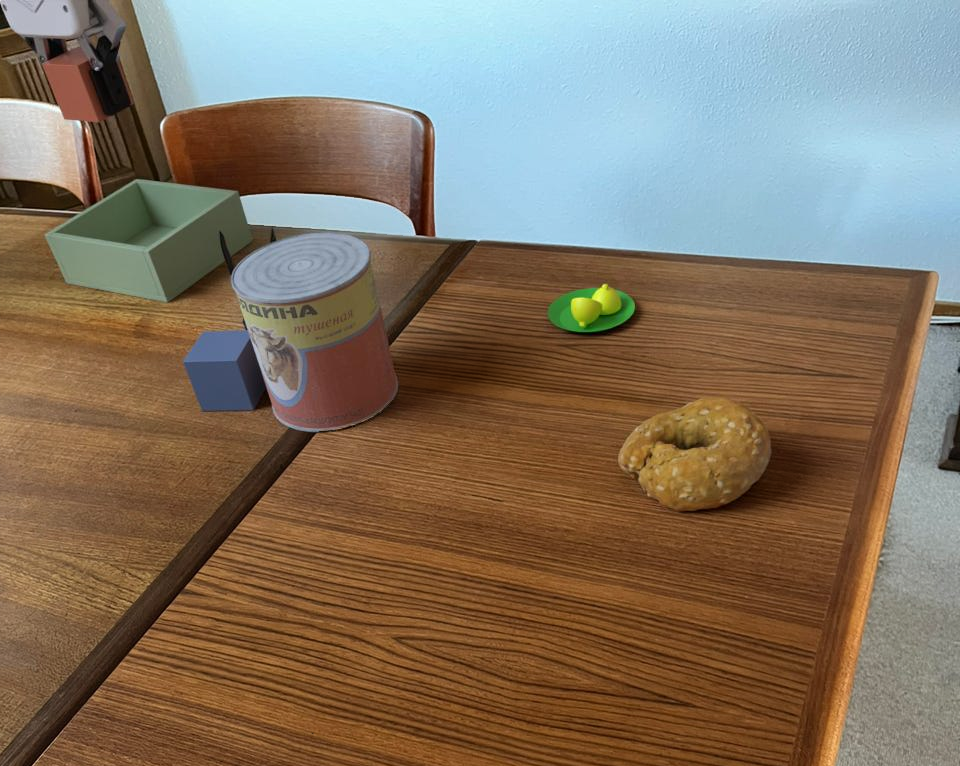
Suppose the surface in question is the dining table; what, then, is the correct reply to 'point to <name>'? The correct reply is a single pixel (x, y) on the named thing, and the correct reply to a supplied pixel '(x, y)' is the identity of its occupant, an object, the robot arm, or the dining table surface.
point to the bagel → (698, 454)
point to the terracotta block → (76, 86)
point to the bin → (150, 238)
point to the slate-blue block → (225, 371)
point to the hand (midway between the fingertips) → (97, 107)
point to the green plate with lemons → (591, 309)
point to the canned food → (317, 329)
